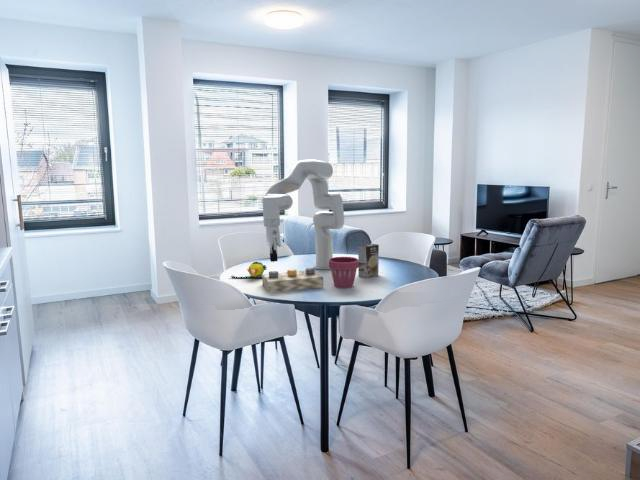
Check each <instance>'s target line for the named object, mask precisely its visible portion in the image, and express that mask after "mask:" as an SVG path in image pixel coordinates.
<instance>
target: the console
mask: <svg viewBox="0 0 640 480" xmlns="http://www.w3.org/2000/svg"><path fill="white" fill-rule="evenodd" d="M261 276H262V277H261V279H262V286H263V285H264V286H265V287H264V286H263V287H264V288H265V290H266V291H267V290H268V291H267V292H268V293H277V292H276V291H279V292H286V291H288V290H289V291H297V290H299V291H300V290H308V289H317V288H318V289H319V288H324V276H323V275H321V274H320V273H319V272H317V271H316V270H315V274H313V275H306V270H297V276H291V277H290V276H288V274H287V272H286V271H285V272H278V278H269V273H263V274H262V275H261Z"/></svg>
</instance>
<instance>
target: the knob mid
mask: <svg viewBox="0 0 640 480" xmlns="http://www.w3.org/2000/svg"><path fill="white" fill-rule="evenodd" d="M297 271H298V270H297V269H287V274H288V276H290V277H291V276H297Z"/></svg>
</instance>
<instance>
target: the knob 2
mask: <svg viewBox="0 0 640 480" xmlns="http://www.w3.org/2000/svg"><path fill="white" fill-rule="evenodd" d="M305 271H306V275H313V274H315V271H316V269H315V268H313V267H308V268H305Z"/></svg>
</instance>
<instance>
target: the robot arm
mask: <svg viewBox="0 0 640 480" xmlns="http://www.w3.org/2000/svg"><path fill="white" fill-rule="evenodd" d="M333 174H334V169H333V165H332V164H331V163H330V162H328V161H323V160H317V159H303V160H302V159H301V160H298V161H296V163H295V164H294V165H293V166H292V168H291V169H290V171H289V172H288V174H287V175H286V177H284V178H283V179H281V180H279V181H278V182H276V183H274V184H273V185H272V186H270V187H269V189H268V190H267V192H266V193H265V195H264V196H263V197H262V215H263V216H262V217H263V227H265V234H266V237H265V238H266V244H267V246H268V247H269V260H270V262H273V263H274V262H278V259H279V258H278V248H280V247H281V246H282V245H281V244H282V243H281V233H280V228H279V227H280V226H281V221H280V219H281V218H280V211H287V210H289V209H291V207H292V205H293V198H292V197H291V196H290V195H289V194H290V193H292V192H295V191H297V190H299V189H300V188H301V187H302V185H303V183H304V182H305V180H306V179H307V180H308V181H309V182H310V184H311V189H312V195H313V204H314V208H315V209H317V210H322V211H317V212H315V214H314V215H313V218H312V221H313V227H314V235H315V236H314V238H315V264H313V266H312V268H314V269H315V270H323V271H324V270H331V268H329V259H330V258H334V257H333V256H334V253H333V250H334V249H333V248H334V247H333V234H332V232H331V230H341V229H343V227H344V225H345V213H344V201H343V198H342V195H341V194H340V193H338V192H335V191H333V192H332V191H331V192H330V191H329V187H328V181H327V180H328V179H331V177H332V176H333ZM323 210H325V211H323Z"/></svg>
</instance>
